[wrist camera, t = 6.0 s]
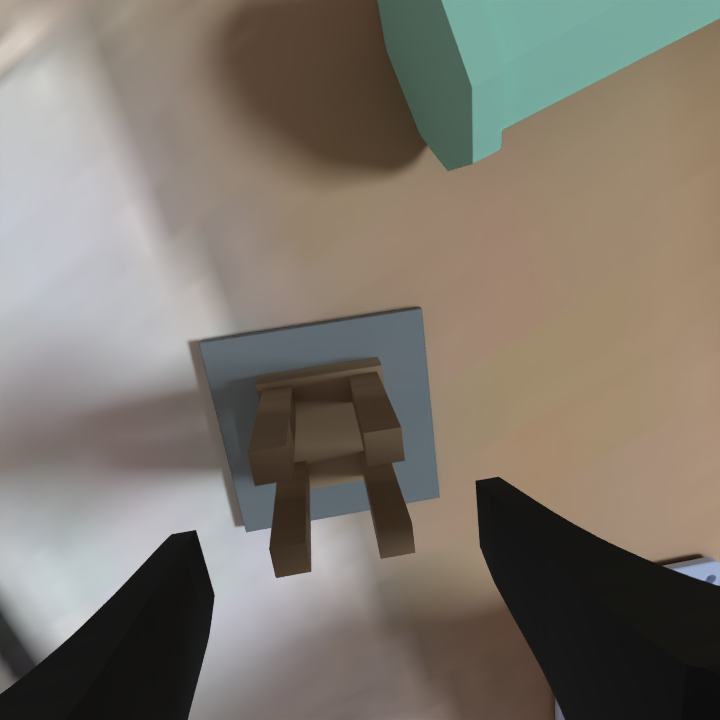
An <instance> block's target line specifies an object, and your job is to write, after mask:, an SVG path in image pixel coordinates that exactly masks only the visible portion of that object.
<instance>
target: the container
mask: <svg viewBox="0 0 720 720" xmlns="http://www.w3.org/2000/svg"><path fill="white" fill-rule="evenodd" d="M377 1H378V7H379V13H380V19H381V24H382V30H383V36H384V41H385V47H386V51H387V53H388V56H389V58H390V61H391V64H392V66H393V69H394V71H395V74H396V76H397V79H398V81H399V84H400V86H401V89H402V91H403V94H404V96H405V99H406V101H407V104H408V106H409V109H410V111H411V114H412V116H413V119H414V121H415V124H416V126H417V129H418V132H419V134H420V136H421V137H422V138H423V140H424V141H425V142H426V144H427V145H428V146H429V147H430V149H431V150H432V151H433V153H434V154H435V155H436V157H437V158H438V159H439V160H440V162H441V163H442V164H443V166H444V167H445V168H446V170H447V171H450V170H453V169H457V168H460V167H463V166H467V165H470V164H473V163H475V162H477V161H479V160H481V159H483V158H485V157H487V156H489V155H491V154H493V153H495V152H497V151H499V150H501V140H502V130H503V129H505V128H507V127H509V126H511V125H513V124H515V123H517V122H519V121H521V120H523V119H525V118H526V117H528V116H530V115H532V114H534V113H536V112H538V111H540V110H542V109H544V108H546V107H548V106H550V105H552V104H554V103H556V102H558V101H560V100H562V99H564V98H565V97H567V96H569V95H571V94H573V93H575V92H577V91H579V90H581V89H583V88H585V87H587V86H589V85H591V84H593V83H595V82H597V81H599V80H601V79H603V78H604V77H606V76H608V75H610V74H612V73H614V72H616V71H618V70H620V69H622V68H624V67H626V66H628V65H630V64H632V63H634V62H636V61H638V60H640V59H641V58H643V57H645V56H647V55H649V54H651V53H653V52H655V51H657V50H659V49H661V48H663V47H665V46H667V45H669V44H671V43H673V42H675V41H677V40H679V39H680V38H682V37H684V36H686V35H688V34H690V33H692V32H694V31H696V30H698V29H700V28H702V27H704V26H706V25H708V24H710V23H712V22H714V21H716V20H718V19H719V18H720V0H377Z"/></svg>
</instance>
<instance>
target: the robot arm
mask: <svg viewBox="0 0 720 720" xmlns="http://www.w3.org/2000/svg"><path fill="white" fill-rule="evenodd" d="M476 495H477V510H478V524H479V539H480V548H481V550H482V553H483V555H484V558H485V560H486V563H487V566H488V568H489V570H490V573H491V575H492V578H493V580H494V583H495V584H496V586H497V588H498V590H499V592H500V594H501V596H502V597H503V599H504V601H505V603H506V605H507V607H508V608H509V610H510V612H511V614H512V616H513V618H514V619H515V621H516V623H517V625H518V627H519V628H520V630H521V632H522V634H523V636H524V637H525V639H526V641H527V643H528V645H529V647H530V648H531V650H532V652H533V654H534V656H535V657H536V659H537V661H538V663H539V665H540V667H541V669H542V671H543V673H544V675H545V677H546V679H547V681H548V683H549V684H550V687H551V689H552V691H553V693H554V696H555V720H720V586H719V581H720V563H719V562H718V561H716V560H715V559H714V558H712V557H704V558H699V559H694V560H689V561H684V562H679V563H674V564H668V565H663V566H661V565H659V564H656V563H654V562H651V561H649V560H646V559H644V558H642V557H639V556H637V555H635V554H633V553H631V552H628V551H626V550H624V549H622V548H620V547H617V546H615V545H613V544H611V543H609V542H607V541H605V540H603V539H601V538H599V537H597V536H595V535H593V534H591V533H590V532H588V531H586V530H584V529H582V528H580V527H578V526H577V525H575V524H573V523H571V522H570V521H568V520H566V519H564V518H563V517H561V516H559V515H558V514H556V513H554V512H553V511H551V510H549V509H548V508H546V507H545V506H543V505H541V504H540V503H538V502H537V501H535V500H534V499H532V498H531V497H529V496H527V495H526V494H524V493H523V492H521V491H520V490H518V489H517V488H515V487H514V486H512V485H511V484H509V483H508V482H506V481H504V480H503V479H501V478H500V477H495V478H489V479H483V480H478V481H476ZM214 596H215V595H214V591H213V588H212V584H211V581H210V577H209V574H208V570H207V567H206V563H205V560H204V556H203V553H202V549H201V546H200V542H199V539H198V535H197V532H196V530H194V531H188V532H182V533H177V534H171V535H170V536H169V537H168V538H167V539H166V540H165V541H164V542H163V543H162V544H161V545H160V546H159V548H158V549H157V550H156V551H155V552H154V553H153V554H152V555H151V556H150V557H149V558H148V559H147V560H146V561H145V563H144V564H143V565H142V566H141V567H140V568H139V569H138V570H137V571H136V572H135V573H134V574H133V575H132V576H131V577H130V578H129V580H128V581H127V582H126V583H125V584H124V585H123V586H122V587H121V588H120V589H119V590H118V591H117V592H116V593H115V594H114V595H113V596H112V597H111V598H110V599H109V600H108V601H107V602H106V603H105V604H104V605H103V606H102V607H101V608H100V609H99V610H98V611H97V612H96V613H95V614H94V615H93V616H92V617H91V618H90V619H89V620H88V621H87V622H86V623H85V624H84V625H83V626H82V627H80V628H79V629H78V630H77V631H76V632H75V633H74V634H73V635H72V636H71V637H70V638H69V639H67V640H66V641H65V642H64V643H63V644H62V645H61V646H60V647H58V648H57V649H56V650H55V651H54V652H53V653H51V654H50V655H49V656H48V657H47V658H46V659H44V660H43V661H42V662H41V663H40V664H38V665H37V666H36V667H35V668H34V669H32V670H31V671H30V672H29V673H27V674H26V675H25V676H24V677H22V678H21V679H20V680H19V681H17V682H16V683H15V684H13V685H12V686H11V687H9V688H8V689H7V690H5V691H4V692H3V693H1V694H0V720H188V716H189V712H190V708H191V705H192V701H193V697H194V693H195V689H196V686H197V682H198V678H199V674H200V670H201V667H202V663H203V659H204V655H205V651H206V647H207V643H208V639H209V634H210V627H211V620H212V612H213V604H214Z"/></svg>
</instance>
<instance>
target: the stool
mask: <svg viewBox="0 0 720 720" xmlns="http://www.w3.org/2000/svg"><path fill="white" fill-rule="evenodd" d="M256 388H257V393H258V398H259V402H260V403H259V407H258V411H257V415H256V419H255V423H254V427H253V431H252V436H251V440H250V444H249V448H248V452H247V453H248V458H249V462H250V467H251V471H252V475H253V480H254V484H255V486H260V485H266V484H272V483H276V493H275V502H274V511H273V520H272V529H271V538H270V547H269V550H270V554H271V559H272V563H273V568H274V572H275V576H276V578H279V577H284V576H290V575H295V574H301V573H306V572H311V515H310V489H314V488H320V487H325V486H331V485H337V484H343V483H349V482H355V481H360V480H364V482H365V487H366V491H367V496H368V501H369V505H370V510H371V515H372V520H373V524H374V529H375V534H376V538H377V543H378V548H379V552H380V557H381V559H383V558H388V557H394V556H399V555H405V554H410V553H415V546H414V537H413V528H412V522H411V519H410V516H409V513H408V510H407V507H406V504H405V501H404V498H403V495H402V492H401V489H400V486H399V483H398V480H397V477H396V474H395V470H394V463H395V462H401V461H405V456H404V447H403V438H402V429H401V425H400V423H399V421H398V418H397V416H396V414H395V412H394V409H393V407H392V405H391V402H390V400H389V398H388V396H387V393H386V391H385V387H384V378H383V370H382V364H381V362H380V360H379V358H378V357H374V358H367V359H361V360H355V361H348V362H342V363H335V364H329V365H322V366H316V367H310V368H303V369H297V370H290V371H284V372H278V373H271V374H265V375H259V376H258V379H257V383H256Z"/></svg>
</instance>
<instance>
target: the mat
mask: <svg viewBox="0 0 720 720" xmlns="http://www.w3.org/2000/svg"><path fill="white" fill-rule="evenodd" d="M199 345H200V349H201V353H202V357H203V361H204V365H205V369H206V373H207V377H208V381H209V385H210V389H211V393H212V397H213V401H214V405H215V409H216V413H217V417H218V421H219V425H220V429H221V433H222V437H223V441H224V445H225V449H226V453H227V457H228V461H229V465H230V469H231V473H232V478H233V482H234V486H235V490H236V494H237V498H238V502H239V506H240V510H241V514H242V518H243V522H244V526H245V530H246V532H250V531H256V530H262V529H267V528H272V520H273V511H274V502H275V493H276V483H272V484H266V485H260V486H255V484H254V480H253V475H252V471H251V467H250V462H249V458H248V453H247V452H248V448H249V444H250V440H251V436H252V431H253V427H254V423H255V419H256V415H257V411H258V407H259V403H260V402H259V398H258V393H257V388H256V383H257V379H258V376H259V375H265V374H271V373H278V372H284V371H290V370H297V369H303V368H310V367H316V366H322V365H329V364H335V363H342V362H348V361H355V360H361V359H367V358H374V357H378V358H379V360H380V362H381V364H382V370H383V378H384V387H385V391H386V393H387V396H388V398H389V400H390V402H391V405H392V407H393V409H394V412H395V414H396V416H397V418H398V421H399V423H400V425H401V429H402V438H403V447H404V456H405V461H401V462H395V463H394V470H395V474H396V477H397V480H398V483H399V486H400V489H401V492H402V495H403V498H404V501H405V503H411V502H416V501H422V500H428V499H433V498H439V486H438V475H437V465H436V454H435V443H434V433H433V422H432V412H431V401H430V390H429V380H428V369H427V358H426V348H425V337H424V326H423V316H422V309H421V308H420V307H414V308H408V309H401V310H395V311H389V312H382V313H376V314H369V315H363V316H356V317H350V318H343V319H337V320H331V321H324V322H318V323H311V324H305V325H298V326H292V327H285V328H279V329H272V330H266V331H260V332H253V333H247V334H240V335H234V336H227V337H221V338H214V339H208V340H202V341H201V342H200V343H199ZM367 510H370V505H369V501H368V496H367V491H366V487H365V482H364V480H360V481H355V482H349V483H343V484H337V485H331V486H325V487H320V488H314V489H310V515H311V520H317V519H322V518H328V517H333V516H339V515H345V514H350V513H356V512H361V511H367Z"/></svg>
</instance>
